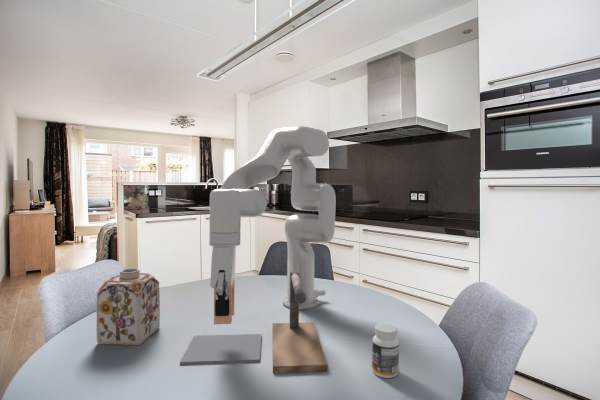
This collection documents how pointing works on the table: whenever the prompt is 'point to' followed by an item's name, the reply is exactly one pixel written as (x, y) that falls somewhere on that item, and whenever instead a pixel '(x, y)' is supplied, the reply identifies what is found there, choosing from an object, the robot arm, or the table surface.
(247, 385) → the table surface
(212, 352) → the mat
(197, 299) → the table surface
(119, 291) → the decorative jar
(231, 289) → the link
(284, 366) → the stand
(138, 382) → the table surface
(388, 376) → the pill bottle
